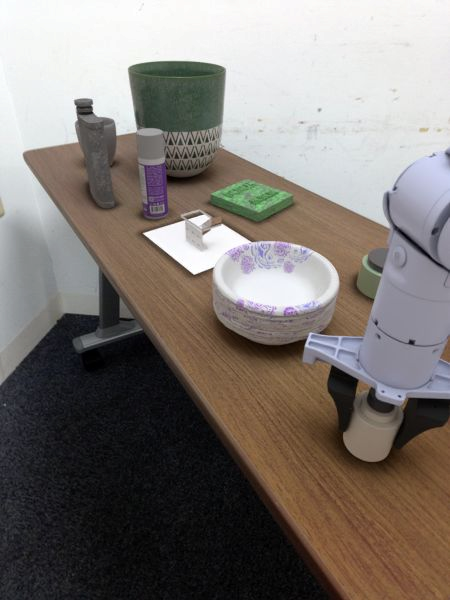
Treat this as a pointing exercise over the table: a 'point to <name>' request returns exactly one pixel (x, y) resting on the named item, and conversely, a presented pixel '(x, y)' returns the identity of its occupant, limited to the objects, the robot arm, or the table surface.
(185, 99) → the planter
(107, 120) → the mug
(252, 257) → the paper bowls
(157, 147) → the container
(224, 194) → the green jade tablet
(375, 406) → the small bottle
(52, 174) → the table surface
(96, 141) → the flask
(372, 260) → the green jar
